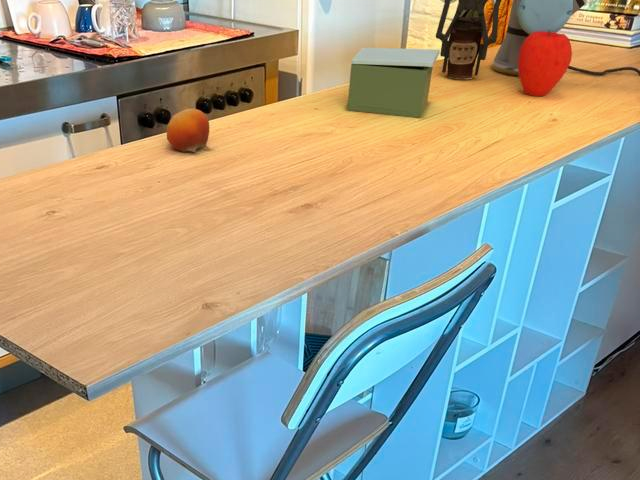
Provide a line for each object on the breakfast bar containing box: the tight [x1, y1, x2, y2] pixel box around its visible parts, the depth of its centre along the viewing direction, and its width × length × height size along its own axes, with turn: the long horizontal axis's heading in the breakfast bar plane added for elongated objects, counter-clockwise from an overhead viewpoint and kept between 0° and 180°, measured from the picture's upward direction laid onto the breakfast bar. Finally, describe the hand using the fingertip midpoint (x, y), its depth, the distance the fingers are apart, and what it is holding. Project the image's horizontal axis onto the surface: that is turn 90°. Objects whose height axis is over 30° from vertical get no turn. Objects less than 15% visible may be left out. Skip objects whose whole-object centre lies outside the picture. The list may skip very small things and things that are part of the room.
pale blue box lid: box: [351, 46, 441, 67], centre depth 175 cm, size 17×14×1 cm
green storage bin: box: [346, 63, 434, 119], centre depth 178 cm, size 16×14×9 cm
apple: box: [518, 30, 573, 97], centre depth 189 cm, size 12×12×13 cm
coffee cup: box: [446, 16, 483, 80], centre depth 200 cm, size 9×8×13 cm
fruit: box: [166, 108, 210, 153], centre depth 151 cm, size 8×8×8 cm
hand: (460, 72), depth 204 cm, fingers closed on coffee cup, 7 cm apart
